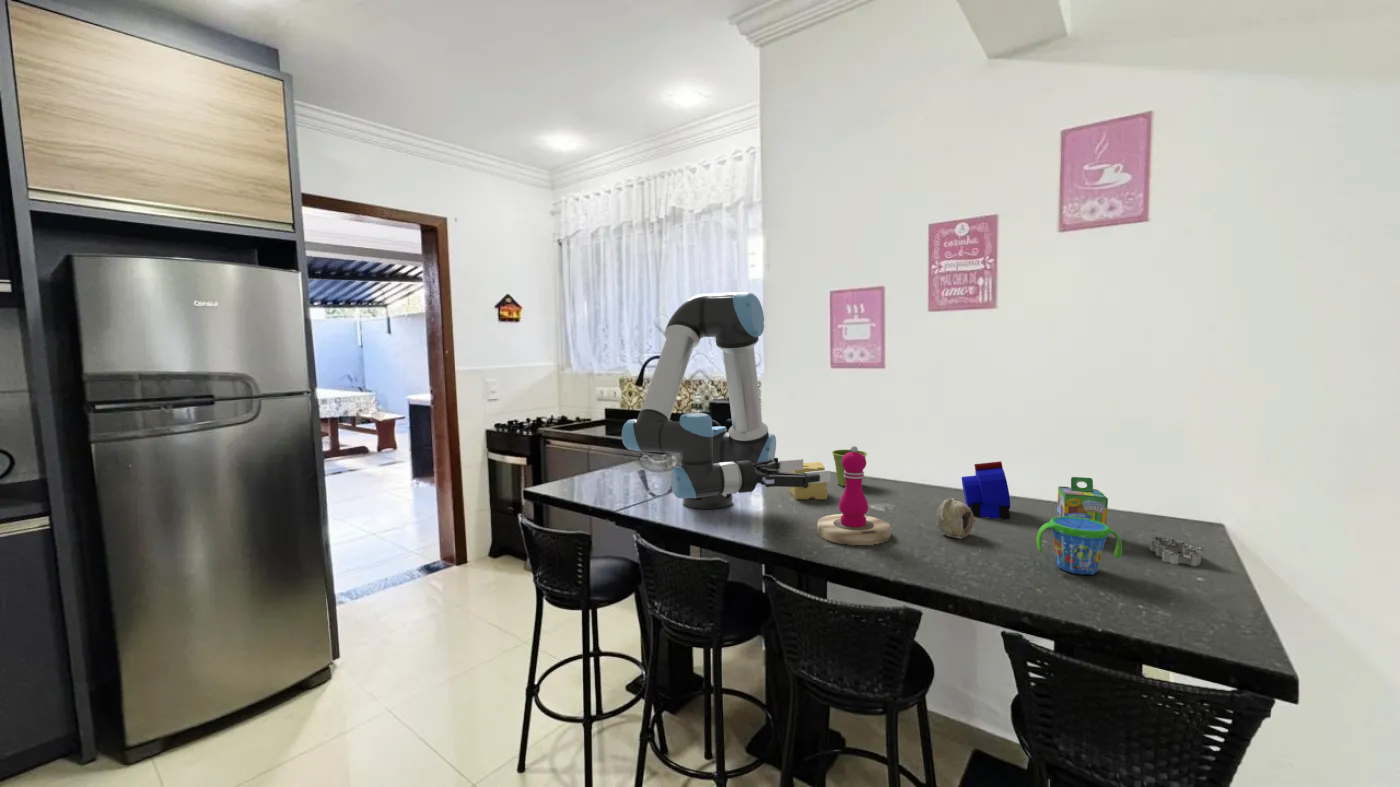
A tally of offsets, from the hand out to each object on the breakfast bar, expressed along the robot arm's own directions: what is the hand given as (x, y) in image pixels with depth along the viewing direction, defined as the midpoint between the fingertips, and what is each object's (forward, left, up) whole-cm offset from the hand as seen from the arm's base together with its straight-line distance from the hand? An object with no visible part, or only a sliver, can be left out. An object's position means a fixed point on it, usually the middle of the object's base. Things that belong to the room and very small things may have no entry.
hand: (815, 469), depth 146 cm
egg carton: (+38, +70, -18) cm, 81 cm away
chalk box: (+21, +62, -17) cm, 68 cm away
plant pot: (-45, +37, -17) cm, 61 cm away
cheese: (-37, +17, -18) cm, 45 cm away
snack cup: (+37, +42, -17) cm, 59 cm away
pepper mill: (+1, +10, -15) cm, 18 cm away
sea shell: (+10, +34, -17) cm, 40 cm away
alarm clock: (-4, +56, -18) cm, 59 cm away
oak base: (+1, +10, -17) cm, 20 cm away
